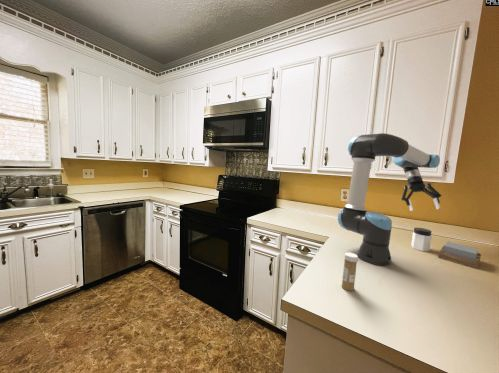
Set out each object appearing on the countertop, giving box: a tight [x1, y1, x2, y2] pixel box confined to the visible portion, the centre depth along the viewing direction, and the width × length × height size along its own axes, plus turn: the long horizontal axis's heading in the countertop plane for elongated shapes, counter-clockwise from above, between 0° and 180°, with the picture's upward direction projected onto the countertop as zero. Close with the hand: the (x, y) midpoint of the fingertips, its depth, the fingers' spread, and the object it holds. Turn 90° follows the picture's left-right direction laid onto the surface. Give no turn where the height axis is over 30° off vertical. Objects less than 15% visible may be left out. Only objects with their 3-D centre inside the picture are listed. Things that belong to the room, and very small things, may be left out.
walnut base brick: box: [437, 244, 482, 270], centre depth 115 cm, size 15×15×4 cm
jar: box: [410, 227, 432, 252], centre depth 127 cm, size 9×8×12 cm
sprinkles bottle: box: [341, 252, 359, 292], centre depth 81 cm, size 5×5×13 cm
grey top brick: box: [443, 241, 479, 260], centre depth 114 cm, size 12×12×4 cm
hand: (425, 209), depth 127 cm, fingers open, 13 cm apart
